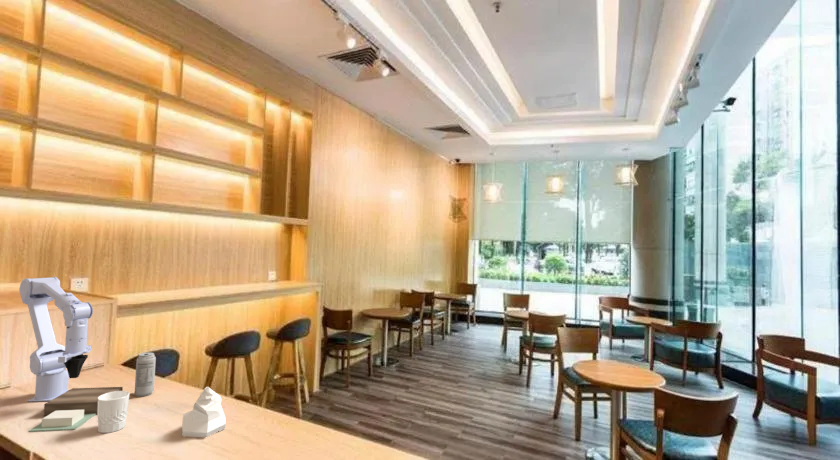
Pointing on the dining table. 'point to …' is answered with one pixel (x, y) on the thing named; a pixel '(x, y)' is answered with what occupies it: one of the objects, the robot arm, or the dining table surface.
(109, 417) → the white cup
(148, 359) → the energy drink can
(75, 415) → the tile
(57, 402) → the brown flat block
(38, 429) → the mat
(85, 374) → the dining table surface
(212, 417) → the white faceted lump
